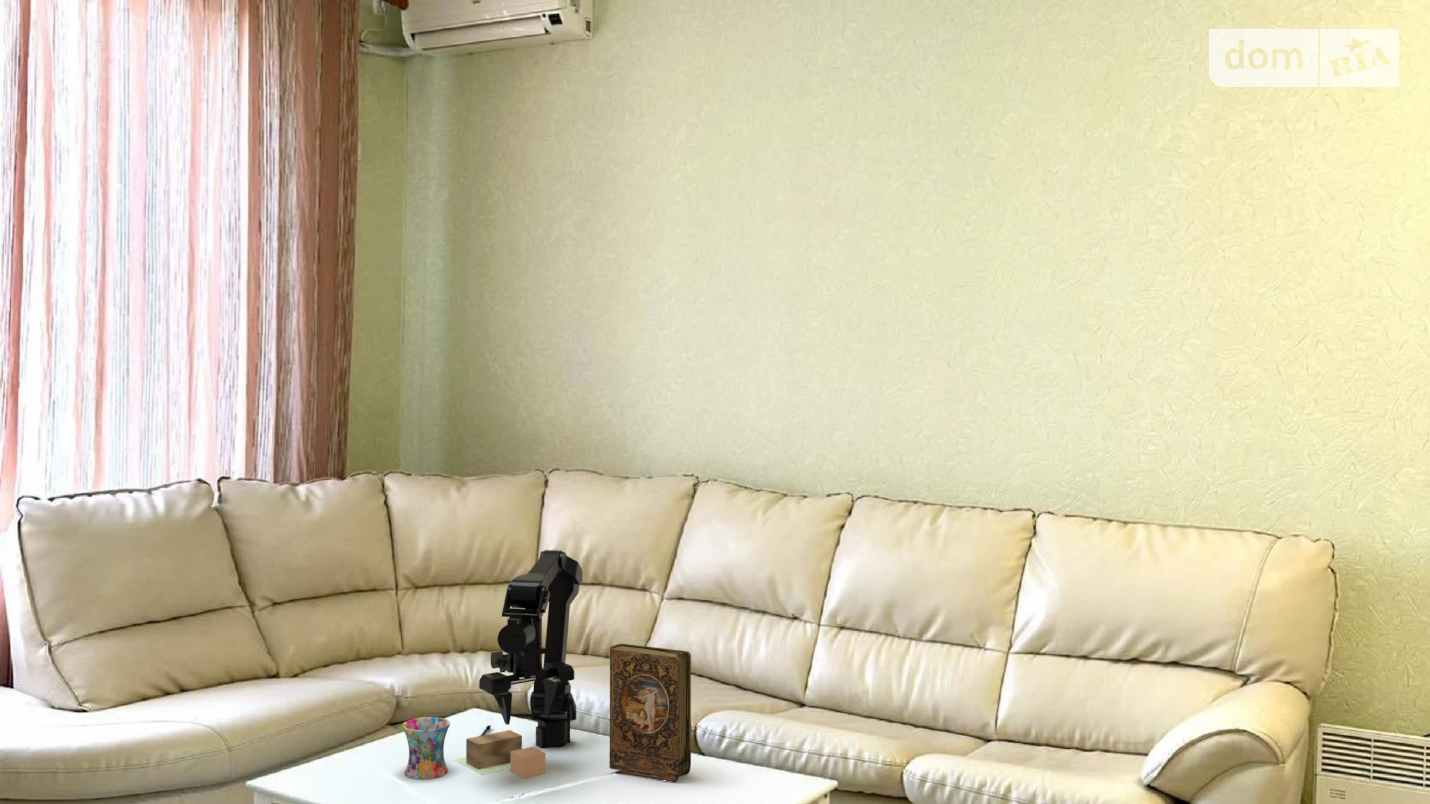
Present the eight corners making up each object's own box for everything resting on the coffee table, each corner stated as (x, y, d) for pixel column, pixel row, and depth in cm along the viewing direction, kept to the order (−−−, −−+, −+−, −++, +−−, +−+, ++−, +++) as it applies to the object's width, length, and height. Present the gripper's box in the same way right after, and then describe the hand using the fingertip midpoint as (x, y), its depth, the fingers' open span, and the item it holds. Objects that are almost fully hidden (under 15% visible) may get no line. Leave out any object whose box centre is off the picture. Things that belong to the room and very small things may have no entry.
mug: (437, 786, 256) (437, 732, 256) (393, 781, 258) (393, 728, 258) (464, 767, 268) (463, 715, 267) (422, 762, 270) (422, 711, 269)
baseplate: (505, 752, 277) (505, 748, 277) (534, 767, 268) (534, 763, 268) (453, 763, 270) (453, 759, 270) (482, 779, 260) (482, 775, 260)
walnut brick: (509, 753, 274) (509, 729, 273) (521, 759, 270) (521, 735, 270) (466, 763, 268) (466, 738, 267) (478, 769, 264) (478, 744, 263)
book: (605, 771, 265) (605, 648, 264) (618, 763, 270) (619, 643, 269) (678, 783, 258) (679, 657, 257) (690, 775, 263) (691, 651, 262)
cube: (532, 771, 266) (532, 746, 265) (545, 777, 262) (545, 752, 262) (510, 776, 263) (510, 751, 262) (523, 782, 259) (523, 757, 258)
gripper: (547, 628, 273) (547, 703, 274) (465, 641, 261) (466, 719, 262) (576, 638, 264) (575, 715, 265) (493, 652, 253) (493, 732, 253)
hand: (527, 720), depth 262 cm, fingers open, 9 cm apart
